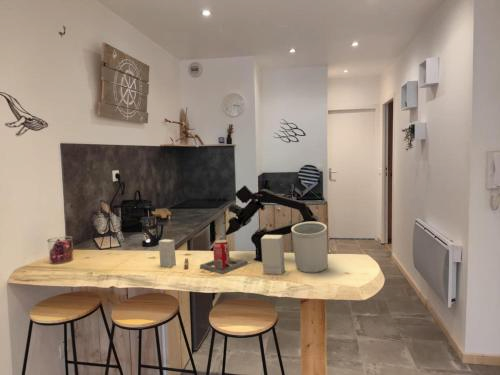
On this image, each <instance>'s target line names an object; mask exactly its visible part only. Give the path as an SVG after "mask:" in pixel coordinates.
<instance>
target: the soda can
mask: <svg viewBox="0 0 500 375" xmlns="http://www.w3.org/2000/svg"><path fill="white" fill-rule="evenodd" d="M212 250H213V251H212V252H213V260H214V265H213V266H214V267H215V268H219V269H223V268H226V267H228V266H231V264H230V244H229V242H228V239H221V238H220V239H215V240H214V243H213V249H212Z"/></svg>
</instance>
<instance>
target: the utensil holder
mask: <svg viewBox="0 0 500 375" xmlns="http://www.w3.org/2000/svg"><path fill="white" fill-rule="evenodd" d="M291 231H292V233H291V235H292V242H293V244H292V245H293V251H294V252H293V255H294V260H295V267H296V268H297V270H298V271H301V272H305V273H318V272H321V271H324V270H326V269H327V268H328V266H329V265H328V264H329V262H328V261H329V260H328V259H329V256H328V255H329V254H328V237H327V236H328V234H327V232H328V227H327V225H326V224H325V223H323V222H320V221H319V222H303V223H298V224H296V225H294V226H293V227H292V228H291Z"/></svg>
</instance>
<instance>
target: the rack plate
mask: <svg viewBox="0 0 500 375" xmlns="http://www.w3.org/2000/svg"><path fill="white" fill-rule="evenodd" d="M247 265H248V261H247V260H243V259H239V258H235V257H230V265H229V266H228V267H226V268H223V269H219V268H217V267H215V265H214V259H213V260H211V261H208V262H205V263H202V264H200V265H199V268H200V269H202V270H206V271H210V272H213V273H218V274H222V275H224V274H226V273H229V272H231V271H234V270H236V269H239V268H241V267H244V266H247Z"/></svg>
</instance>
